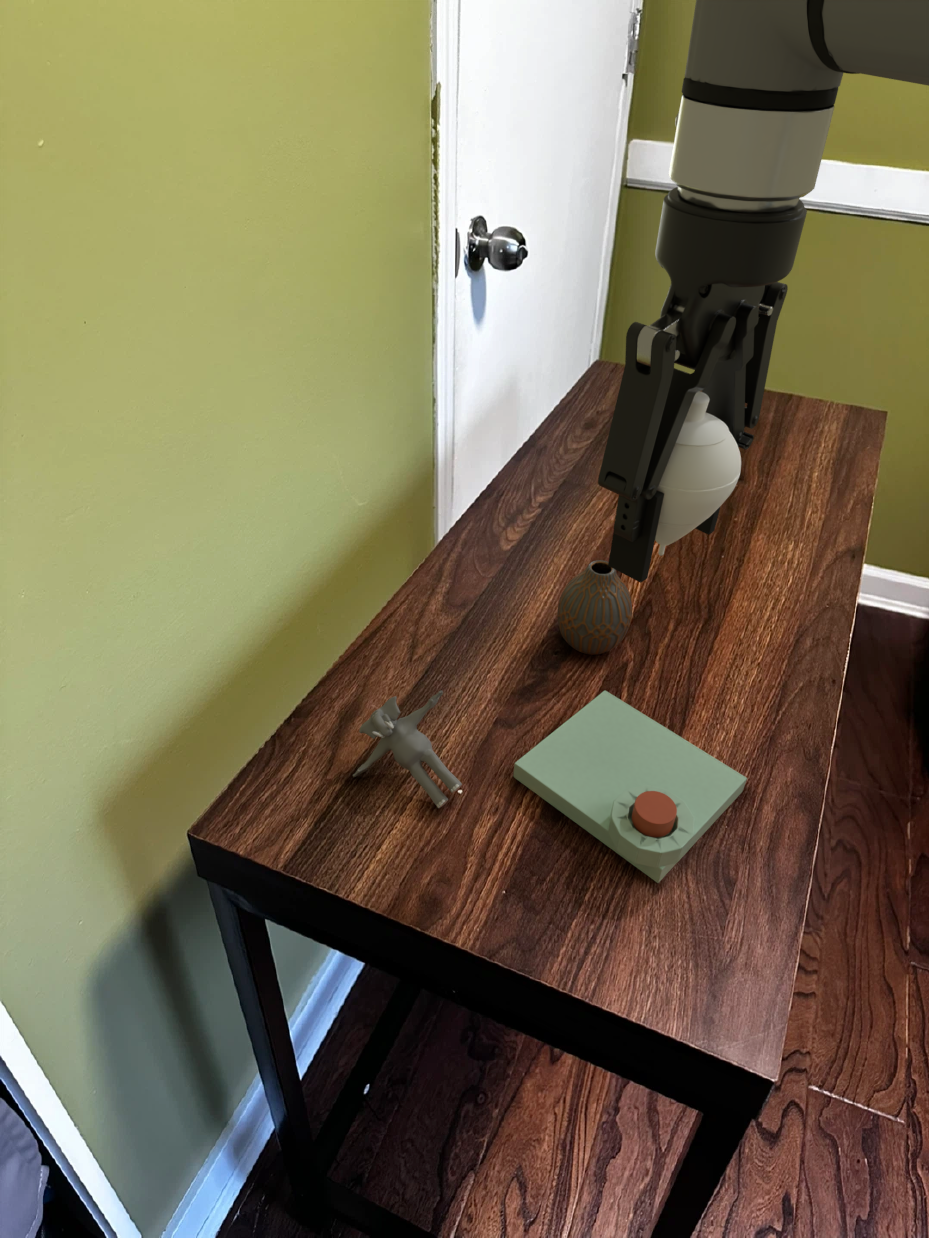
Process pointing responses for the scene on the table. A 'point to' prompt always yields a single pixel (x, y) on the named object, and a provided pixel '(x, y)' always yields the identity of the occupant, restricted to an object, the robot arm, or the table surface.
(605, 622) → the vase
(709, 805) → the green push button box
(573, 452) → the table surface
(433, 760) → the elephant figurine
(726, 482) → the spinning top
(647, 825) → the button
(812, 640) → the table surface
